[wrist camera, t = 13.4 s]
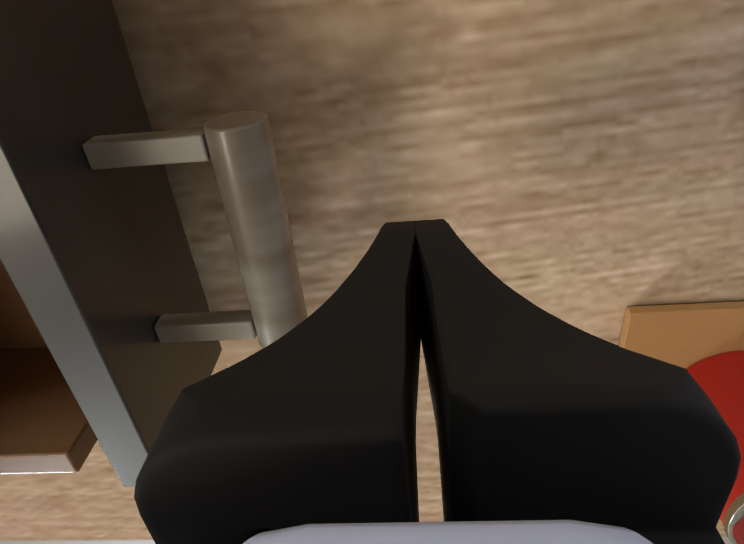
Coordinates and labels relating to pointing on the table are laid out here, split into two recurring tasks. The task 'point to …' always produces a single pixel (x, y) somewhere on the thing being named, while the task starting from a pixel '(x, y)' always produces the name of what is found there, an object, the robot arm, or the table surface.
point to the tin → (739, 410)
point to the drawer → (114, 245)
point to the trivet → (684, 331)
